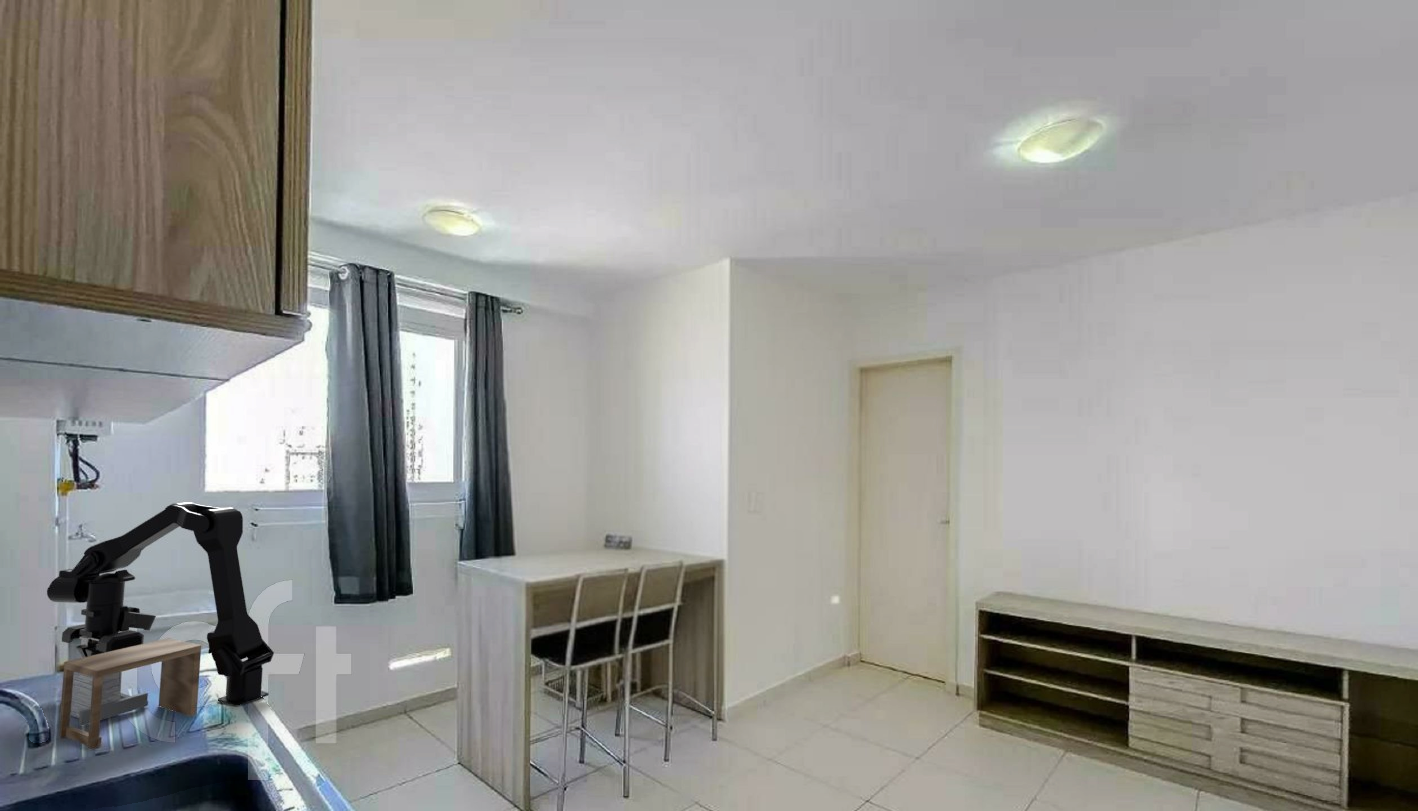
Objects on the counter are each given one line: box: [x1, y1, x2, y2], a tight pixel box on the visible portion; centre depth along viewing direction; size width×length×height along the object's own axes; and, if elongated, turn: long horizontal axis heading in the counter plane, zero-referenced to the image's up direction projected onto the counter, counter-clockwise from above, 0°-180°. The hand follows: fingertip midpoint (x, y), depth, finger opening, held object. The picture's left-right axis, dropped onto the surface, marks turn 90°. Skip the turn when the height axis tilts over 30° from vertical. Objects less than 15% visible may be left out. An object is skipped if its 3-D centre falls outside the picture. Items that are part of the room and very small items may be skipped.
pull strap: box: [78, 691, 149, 727], centre depth 126 cm, size 23×11×6 cm, turn 67°
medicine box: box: [70, 671, 123, 719], centre depth 122 cm, size 8×4×9 cm, turn 66°
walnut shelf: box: [58, 637, 202, 751], centre depth 118 cm, size 11×16×13 cm
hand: (99, 678), depth 133 cm, fingers closed
